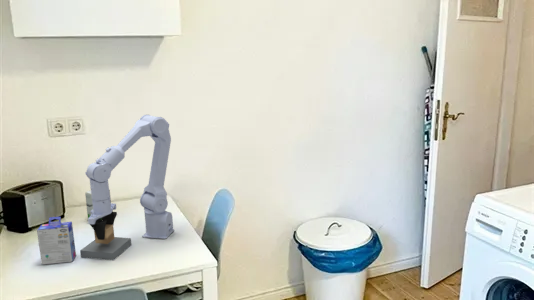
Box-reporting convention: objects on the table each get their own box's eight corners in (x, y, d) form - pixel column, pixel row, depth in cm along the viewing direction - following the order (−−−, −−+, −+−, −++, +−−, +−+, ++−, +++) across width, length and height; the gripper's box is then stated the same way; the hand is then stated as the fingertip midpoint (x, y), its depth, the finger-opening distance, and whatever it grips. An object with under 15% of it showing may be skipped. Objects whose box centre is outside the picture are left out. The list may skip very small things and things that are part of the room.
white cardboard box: (94, 222, 185) (91, 194, 183) (87, 220, 188) (84, 192, 186) (113, 216, 192) (110, 188, 189) (106, 213, 195) (103, 186, 192)
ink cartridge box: (76, 254, 158) (71, 214, 154) (73, 262, 152) (68, 220, 149) (45, 257, 156) (39, 217, 153) (41, 265, 151) (35, 223, 147)
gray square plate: (131, 246, 164) (130, 238, 164) (113, 261, 153) (112, 253, 152) (100, 243, 167) (99, 235, 166) (81, 258, 155) (80, 250, 155)
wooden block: (114, 238, 161) (113, 224, 159) (107, 243, 156) (106, 230, 155) (102, 237, 162) (101, 224, 160) (95, 243, 157) (93, 229, 156)
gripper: (101, 191, 163) (105, 227, 166) (77, 205, 149) (82, 244, 152) (120, 191, 162) (123, 228, 165) (97, 206, 148) (102, 245, 151)
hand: (105, 236), depth 159 cm, fingers closed on wooden block, 4 cm apart
